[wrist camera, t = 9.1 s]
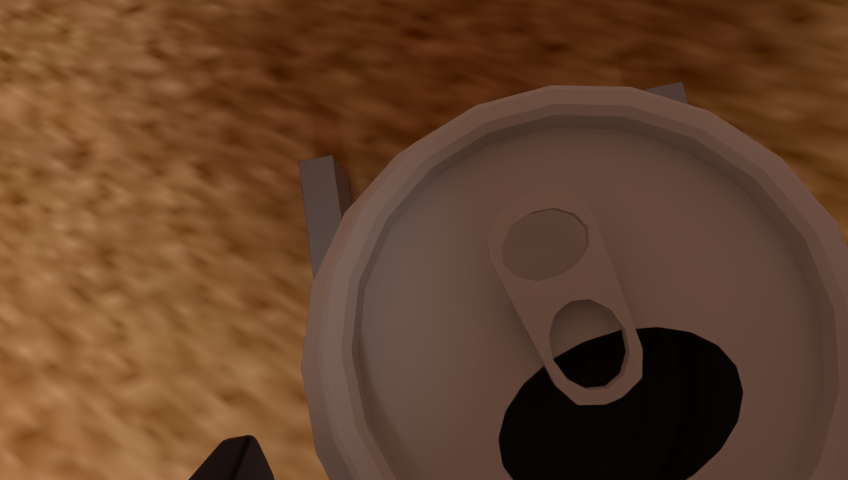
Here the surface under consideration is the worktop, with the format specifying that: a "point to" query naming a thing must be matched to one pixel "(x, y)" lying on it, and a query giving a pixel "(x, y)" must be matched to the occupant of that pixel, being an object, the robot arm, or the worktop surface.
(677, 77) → the worktop surface
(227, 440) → the robot arm
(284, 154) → the worktop surface
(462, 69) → the worktop surface
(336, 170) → the guide rails
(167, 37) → the worktop surface
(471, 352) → the can
